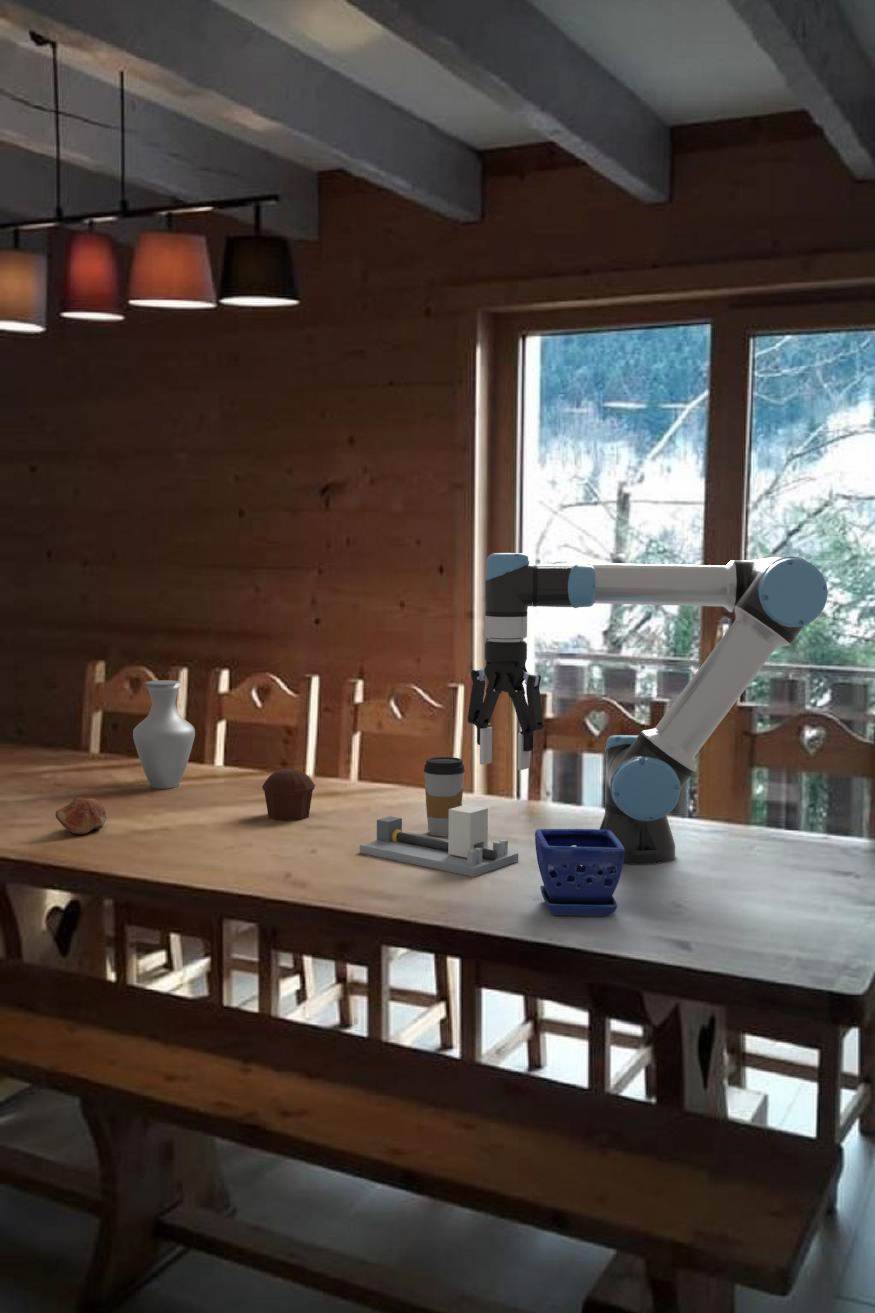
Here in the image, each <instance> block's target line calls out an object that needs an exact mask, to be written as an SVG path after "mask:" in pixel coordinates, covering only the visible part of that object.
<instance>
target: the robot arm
mask: <svg viewBox="0 0 875 1313" xmlns="http://www.w3.org/2000/svg"><path fill="white" fill-rule="evenodd" d="M485 565H486V566H485V579H484V580H485V582H484V583H485V586H484V587H485V588H484V589H485V598H484V599H485V617H484V637H485V638H486V639H488V640H486V641H485V642H484V659H485V661H486V664H485V666H484V668H478V669H473V670H471V672H470V675H471V682H472V684H471V691H470V692H471V693H470V698H469V708H468V714H467V723H468V724H472V725H474V726H475V727H476V743H477V745H478V746H479V764H480V765H483V766H484V765H487V764H491V763H493V727H492V726H491V723H490V722H491V719H492V716H493V713H494V710H495V708H496V706H497V702H498V699H499V696H500V695H501V694H502V692H504V693H508V697H509V698H510V699H511V701H512V705H513V706H514V710H515V713H516V717H517V720H518V723H519V726H520V731H519V733H517V766H516V767H517V771H524V770H527V769H530V752H531V751H532V752H533V749H534V733H535V732H537V731H540V730H541V731H542V730H543V729H544V720H543V709H542V700H541V699H542V698H541V690H540V686H541V680H542V676H541V675H540V674H539V673H537V674H536V673H535V674H533V673H530V672H528V670H527V668H526V662H527V659H528V658H527V657H528V643H527V641H526V640H524V639H526V638H527V637H528V610H529V609H528V607H535V608H537V607H543V608H544V607H546V608H547V607H549V608H574V609H578V608H590V607H592V606H594V605H595V604H600V605H601V604H603V605H604V604H605V605H606V604H607V605H640V606H641V605H644V606H645V605H650V606H654V605H655V606H683V607H685V606H686V607H687V606H688V607H689V606H691V607H692V606H693V607H696V606H697V607H723V608H724V609H726V610H727V611H728V612H729V613H734V614H735V618H734V619H735V620H734V622H733V623H732V624H731V625H730V627H729V628H728V629H727V630H726V632H724V633H725V634H724V635H723V636H722V637H721V639H719V642H718V643H717V644H716V645H715V647H714V648H713V649H712V651H711V652H710V653H709V655H708V656H707V657H706V659H705V660H704V662H703V663H702V664H701V666H700V667H699V668H698V670H696V673H695V674H694V675H693V676H692V678H691V679H690V681H689V682H688V683H687V684H686V686H685V687H684V688H683V690H682V691H681V692H680V694H679V695H678V696H677V697H676V699H674V700H675V701H674V702H673V703H672V704H671V706H670V707H669V708H668V710H667V711H666V713H665V714H664V715H663V716H662V718H661V719H660V720H659V722H658V724H657V725H656V726H655V727H654V728H650V729H644V730H642V731H640V733H639V734H638V735H636V734H635V735H631V734H629V735H627V734H625V735H624V734H623V735H622V734H620V735H619V734H618V735H617V734H615V735H610V736H608V738H607V739H606V745H605V749H604V753H605V786H604V787H605V790H604V791H605V793H604V794H605V795H604V798H605V799H604V814H603V818H602V821H601V824H600V827H599V828H598V829H599V830H610V831H612V832H613V834H614V835H615V836H616V837H617V839H618V840H619V841H620V842H621V844H622V845H623V847H624V849H625V854H624V862H623V864H631V865H654V864H662V863H667V862H670V861H672V860H674V859H675V857H676V843H675V840H674V836H673V833H672V830H671V827H670V822H669V819H668V814H670V813H671V812H672V811H673V810H674V808H675V807H676V805H677V804H678V802H679V799H680V795H681V790H682V789H683V787H684V785H686V784H687V782H688V780H689V779H690V778H691V776H692V775H693V774H694V773H695V771H696V762H695V757H696V755H697V754H698V753H699V751H700V750H701V749H702V747H703V746H704V744H706V742H707V741H708V739H710V737H711V735H712V734H713V732H714V731H715V730H716V729H717V727H718V726H719V725H720V723H721V722H722V720H724V718H726V716H727V714H728V713H729V712H730V710H731V709H732V707H733V706H734V705H735V703H737V701H738V700H739V698H740V697H741V695H742V694H743V693H744V692H745V690H746V689H747V687H749V685H750V683H751V682H752V681H753V680H754V678H755V677H756V676H757V674H758V673H759V672H760V670H762V667H763V666H764V665H765V663H766V662H767V661H768V660H769V659H770V657H771V656H772V654H773V653H774V651H775V650H776V649H779V648H784V647H788V646H790V645H791V644H792V643H793V641H794V639H796V638H797V636H798V634H800V632H801V631H802V630H803V628H804V627H806V626H807V625H809V624H810V623H812V622H814V621H815V620H816V619H818V617H819V616H820V615H821V614H822V612H823V611H824V609H825V607H826V604H827V601H828V600H827V599H828V585H827V581H826V579H825V577H824V575H823V574H822V572H821V571H820V570H819V569H818V567H817V566H815V565H814V564H812V563H811V562H809V561H807V560H806V559H804V558H801V557H798V556H784V555H783V556H781V555H779V556H778V555H777V556H770V557H769V556H768V557H764V558H763V557H762V558H758V559H748V560H747V559H743V560H732V559H730V561H729V562H728V563H727V564H726V565H716V564H715V565H711V564H709V565H705V564H703V565H702V564H698V565H697V564H656V563H655V564H654V563H653V564H652V563H651V564H650V563H649V564H647V563H645V564H644V563H602V562H601V563H599V562H597V563H595V562H594V563H593V562H590V563H589V562H588V563H587V562H586V563H585V562H567V561H555V562H554V563H550V564H533V563H530V560H529V556H528V554H527V553H521V552H519V553H518V552H515V553H514V552H493V553H491V554H489V555H488V556H487V558H486V564H485ZM486 680H488V684H487V687H486ZM523 683H524V684H525V688H526V689H525V688H524V685H523ZM485 693H486V694H485ZM525 694H526V695H525Z"/></svg>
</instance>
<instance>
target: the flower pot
mask: <svg viewBox="0 0 875 1313" xmlns="http://www.w3.org/2000/svg"><path fill="white" fill-rule="evenodd" d="M599 829H600V828H597V829H595V828H539V829H536V830H535V831H534V843H535V852H536V860H537V866H538V869H539V873H540V876H541V880H542V883H543V885H540V886H539V889H540V892H541V895H542V898H543V902H544V903H545V905H546V907H547V909H548V911H549V912H550V913H551V914H552V915H554V916H575V917H576V916H578V917H579V916H581V917H582V916H583V917H590V916H591V917H593V916H594V917H600V916H601V917H607V916H611V915H612V914H613V913H615V911H616V910H617V908H618V903H617V901H616V899H615V898H614V893H615V892H616V889H617V887H618V885H619V882H620V879H621V875H622V870H623V866H624V863H623V862H624V854H625V849H624V847H623V845H622V844H621V842H620V841H619V840H618V839H617V837H616V836H615V835H614V834H613V832H612V831H610V830H599Z"/></svg>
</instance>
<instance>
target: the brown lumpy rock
mask: <svg viewBox="0 0 875 1313" xmlns="http://www.w3.org/2000/svg"><path fill="white" fill-rule="evenodd" d="M104 807H105V806H103V805H102V803H101V802H100V801H99V800H97V799H96V798H93V797H92V798H84V797H80V796H77V797H75V798H74V800H73V801H72V802H70V803H69V804H67V805H65V806H63V807H61V808H59V809H58V810H56V812H55V818H56V819H57V820H58V822H59V823H60V824H61V826H62V827H63V828H64V829H66V830H67V831H69V832H71V833H73V834H75V835H86V834H88V833H90V832H91V831H93V830H100V829H103V827H104V825H105V823H106V821H107V814H106V811H105V808H104Z"/></svg>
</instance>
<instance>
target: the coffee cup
mask: <svg viewBox="0 0 875 1313" xmlns="http://www.w3.org/2000/svg"><path fill="white" fill-rule="evenodd" d="M465 771H466V770H465V764H464V763H463V759H462V758H458V757H453V756H452V757H451V756H437V757H436V756H435V757H429V758H427V759H426V761H425V764H424V768H423V772H424V778H425V779H424V781H425V782H424V783H425V785H424V786H425V788H424V789H425V807H426V819H427V830H428V832H429V834H430V835H431V836H434V837H435V836H437V837H448V835H449V809H452V808H455V807H459V806H463V792H464V788H463V787H464V785H463V784H464V775H465Z"/></svg>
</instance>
